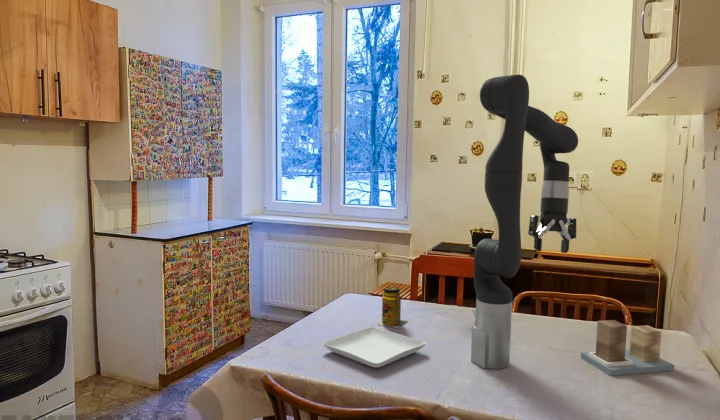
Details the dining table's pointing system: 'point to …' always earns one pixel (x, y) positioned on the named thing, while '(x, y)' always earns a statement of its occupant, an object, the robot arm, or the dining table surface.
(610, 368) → the board
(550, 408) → the dining table surface
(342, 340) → the salad plate
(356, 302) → the dining table surface
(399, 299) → the condiment
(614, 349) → the walnut pillar
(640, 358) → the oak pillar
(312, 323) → the dining table surface
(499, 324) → the robot arm
